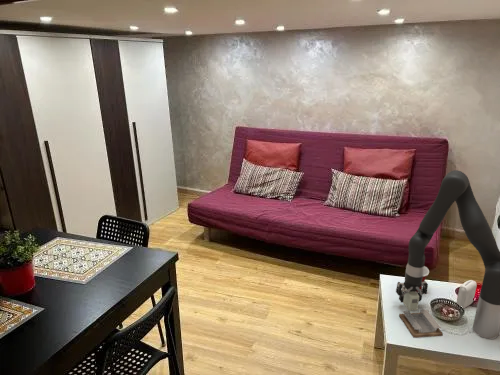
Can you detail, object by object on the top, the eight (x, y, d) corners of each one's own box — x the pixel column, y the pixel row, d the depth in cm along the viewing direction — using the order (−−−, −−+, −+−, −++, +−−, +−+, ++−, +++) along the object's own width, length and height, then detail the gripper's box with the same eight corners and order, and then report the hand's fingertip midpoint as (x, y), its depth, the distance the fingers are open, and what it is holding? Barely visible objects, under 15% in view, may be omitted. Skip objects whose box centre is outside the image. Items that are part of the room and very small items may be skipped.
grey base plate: (425, 313, 169) (426, 309, 168) (440, 332, 158) (440, 327, 157) (401, 315, 169) (402, 311, 168) (414, 333, 157) (415, 329, 157)
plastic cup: (406, 294, 185) (409, 274, 181) (401, 282, 195) (403, 262, 191) (429, 295, 184) (432, 275, 180) (422, 283, 194) (425, 263, 190)
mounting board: (426, 314, 171) (426, 312, 170) (442, 335, 157) (443, 333, 157) (399, 316, 170) (399, 313, 170) (413, 337, 157) (413, 335, 156)
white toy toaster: (465, 297, 182) (469, 276, 177) (474, 302, 178) (479, 280, 174) (454, 305, 176) (458, 283, 172) (463, 310, 173) (468, 288, 169)
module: (410, 300, 180) (412, 287, 178) (417, 310, 173) (419, 296, 171) (402, 301, 180) (404, 287, 178) (409, 311, 173) (411, 297, 170)
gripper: (403, 277, 167) (399, 306, 172) (433, 276, 168) (428, 305, 173) (396, 268, 174) (392, 296, 179) (425, 267, 175) (420, 295, 180)
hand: (409, 300), depth 176 cm, fingers open, 8 cm apart
